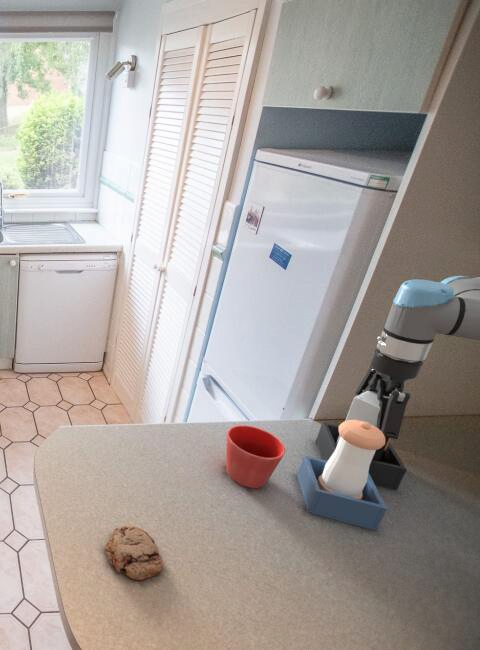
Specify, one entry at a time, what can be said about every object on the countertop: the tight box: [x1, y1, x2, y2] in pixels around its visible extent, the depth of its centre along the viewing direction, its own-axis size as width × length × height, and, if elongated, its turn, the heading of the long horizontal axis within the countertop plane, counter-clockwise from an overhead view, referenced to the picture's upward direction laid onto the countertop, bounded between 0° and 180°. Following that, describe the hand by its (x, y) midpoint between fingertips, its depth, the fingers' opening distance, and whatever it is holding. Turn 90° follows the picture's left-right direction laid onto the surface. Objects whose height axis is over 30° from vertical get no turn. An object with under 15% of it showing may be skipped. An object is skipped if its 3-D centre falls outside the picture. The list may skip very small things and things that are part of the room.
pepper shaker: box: [317, 420, 385, 500], centre depth 90 cm, size 7×7×19 cm
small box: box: [336, 391, 392, 451], centre depth 99 cm, size 8×6×13 cm
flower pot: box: [225, 424, 286, 489], centre depth 99 cm, size 11×11×10 cm
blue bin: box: [296, 455, 387, 532], centre depth 93 cm, size 11×11×6 cm
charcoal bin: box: [315, 421, 407, 491], centre depth 103 cm, size 12×12×6 cm
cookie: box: [104, 525, 164, 581], centre depth 82 cm, size 10×11×3 cm
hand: (363, 441), depth 101 cm, fingers closed on small box, 10 cm apart
